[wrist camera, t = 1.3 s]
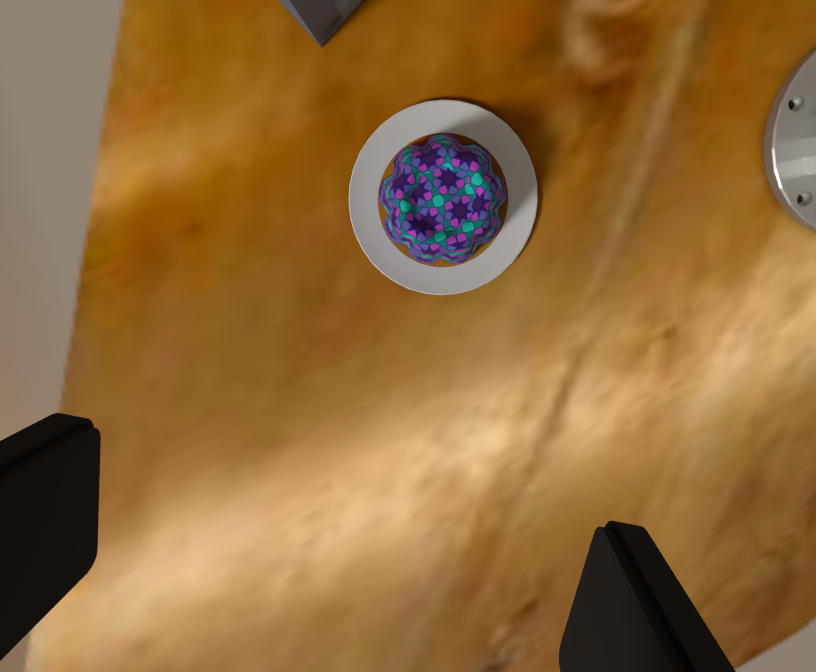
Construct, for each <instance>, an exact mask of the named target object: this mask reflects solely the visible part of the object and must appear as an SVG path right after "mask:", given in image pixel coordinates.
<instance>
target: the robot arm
mask: <svg viewBox="0 0 816 672" xmlns="http://www.w3.org/2000/svg"><path fill="white" fill-rule="evenodd" d="M788 104H790V108H789V106H788ZM764 164H765V169H766V174H767V178H768V182H769V184H770V186H771V188H772V191H773V193H774V195H775V197H776V199H777V200H778V202H779V203H780V204H781V206H782V207H783V208H784V210H785V211H786V212H787V213H788V214H789V215H790V216H791V217H792V218H793V219H795V220H796V221H797V222H798V223H799V224H800V225H802V226H804V227H806V228H808V229H810V230H812V231H813V232H815V233H816V47H815V48H813V49H812V50H811V51H810V52H809V53H808V54H807V55H806V56H805V57H803V58H802V60H801V61H800V62H799V63H798V64H797V66H796V67H795V68H794V69H793V71H792V72H791V73H790V74H789V76H788V77H787V78H786V80H785V82H784V84H783V85H782V87H781V89H780V91H779V92H778V94H777V96H776V98H775V100H774V103H773V106H772V109H771V111H770V114H769V117H768V120H767V125H766V131H765V136H764ZM797 197H798V201H797ZM100 439H101V437H100V432H99V430H98V429H97V428H94V425H93V423H92V421H91V420H90V419H87V418H82V417H77V416H72V415H67V414H61V413H55V414H52V415H50V416H48V417H46V418H44V419H42V420H40V421H38V422H36V423H34V424H32V425H30V426H29V427H27V428H25V429H23V430H21V431H19V432H17V433H15V434H13V435H11V436H9V437H7V438H5V439H3V440H1V441H0V660H2V659H3V657H5V655H7V653H9V651H10V650H11V649H12V648H13V647H14V646H15V645H16V644H17V643H18V642H19V641H20V640H21V639H22V638H23V637H24V636H25V635H26V634H27V633H28V632H29V631H30V630H31V629H32V628H33V627H34V626H35V625H36V624H37V623H38V622H39V621H40V620H41V619H42V618H43V617H44V616H45V615H46V614H47V613H48V612H49V611H50V610H51V609H52V608H53V607H54V606H55V605H56V604H57V603H58V602H59V601H60V600H61V599H62V598H63V597H64V596H65V595H66V594H67V593H68V592H69V591H70V590H71V589H72V588H73V587H74V586H75V585H76V584H77V583H78V582H79V581H80V580H81V579H82V578H83V577H84V576H85V575H86V574H87V573H88V571H89V570H90V569H91V567H92V565H93V563H94V561H95V559H96V555H97V547H98V511H99V475H100ZM559 665H560V671H561V672H735V670H734V668H733V667H732V665H731V664H730V662H729V660H728V659H727V657H726V656H725V654H724V653H723V651H722V649H721V648H720V646H719V645H718V643H717V641H716V640H715V638H714V637H713V635H712V634H711V632H710V630H709V629H708V627H707V626H706V624H705V622H704V621H703V619H702V618H701V616H700V614H699V613H698V611H697V610H696V608H695V607H694V605H693V603H692V602H691V600H690V599H689V597H688V595H687V594H686V592H685V591H684V589H683V587H682V586H681V584H680V583H679V581H678V580H677V578H676V576H675V575H674V573H673V572H672V570H671V568H670V567H669V565H668V564H667V562H666V560H665V559H664V557H663V556H662V554H661V553H660V551H659V549H658V548H657V546H656V545H655V543H654V541H653V540H652V538H651V537H650V535H649V534H648V532H647V530H646V529H645V528H644V527H641V526H637V525H632V524H626V523H621V522H616V521H609V522H608V523H607V524H606V526H605V527H597V529H596V530H595V532H594V535H593V538H592V542H591V545H590V548H589V552H588V555H587V558H586V562H585V565H584V568H583V572H582V575H581V578H580V581H579V585H578V588H577V591H576V595H575V598H574V601H573V605H572V608H571V611H570V615H569V618H568V621H567V625H566V628H565V631H564V634H563V638H562V641H561V645H560V650H559Z"/></svg>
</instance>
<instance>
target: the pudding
mask: <svg viewBox="0 0 816 672" xmlns="http://www.w3.org/2000/svg"><path fill="white" fill-rule="evenodd" d="M434 133H455V134H459V135H462V136H466V137H468V138H470V139H472V140H474V141H476V142H478V143H479V144H481V145H482V146H483V147H485V148H486V149H487V150H488V151H489V152H490V153H491V154H492V155H493V156H494V158H495V159H496V161H497V162H498V164H499V165H500V167H501V169H502V172H503V174H504V176H505V180H506V184H507V188H508V208H507V215H506V218H505V221H504V225H503V227H502V229H501V231H500V233H499V235H498V236H497V238H496V239H495V240H494V242H493V243H492V244H491V245H490V246H489V247H488V248H487V249H486V250H485V251H484V252H483V253H482V254H480V255H479V256H477V257H476V258H475V259H473V260H471V261H468V262H466V263H464V264H461V265H457V266H453V267H442V268H441V267H430V266H427V265H423V264H420V263H418V262H415V261H413V260H411V259H409V258H408V257H407V256H405V255H404V254H402V253H401V252H400V251H399V250H398V249H397V248H396V247H395V246H394V245H393V244H392V242H391V241H390V240H389V238H388V237H387V235H386V233H385V231H384V229H383V227H382V224H381V221H380V217H379V213H378V190H379V186H380V181H381V178H382V176H383V173H384V171H385V169H386V167H387V165H388V164H389V162H390V161H391V159H392V158H393V157H394V156H395V155H396V154H397V153H398V151H399V150H400V149H402V148H403V147H404V146H406V145H407V144H408V143H410V142H412V141H414V140H416V139H417V138H419V137H422V136H426V135H429V134H434ZM379 196H380V203H381V204H382V206H383V207H384V208H385V210H386V211H387V215H386V218H385V222H384V226H385V229H386V232H387V234H388V236H389V237H390V238H391V239H392V240H393V241H394V242H395V243H398V244H403V245H407V248H408V250H409V252H410V255H411V257H413V258H415V259H416V260H418V261H419V262H423V263H430V264H431V263H433V262H435V261H437V260H439V259H441V258H442V259H444V260H446V261H448V262H450V263H452V264H453V263H460V262H464V261H465V260H467V259H469V258H470V257H472V256H473V254H474V251H475V249H476V247H477V245H480V244H484V243H488V242H490V241H491V240H492V239H493V238H494V236H495V235H496V234H497V232H498V229H499V226H500V224H501V223H500V219H499V215H498V212H497V211H498V210H499V209H500V207H501V206H502V205H503V203H504V202H505V197H506V188H505V185H504V182H503V180H502V178H500V177H499V176H497V175H496V174H494V173H493V172H492V159H491V157H490V156H489V154H488V153H487V152H486V150H485V149H483V148H481V147H480V146H478V145H476V144H470V145H464V146H462V145H461V144H460V142H459V141H458V140H457V139H456V138H455V137H454V136H451V135H447V134H439V135H435V136H431V137H430V139H429V140H428V141H427V142H426V143H425V144H424V146H417V145H409V146H408V147H406V148H404V149H402V150H401V151H400V152H399V153H398V155H397V156H396V158H395V159H394V169H393V174H391V175H390V176H388V177H387V178H385V179H384V180H383V182H382V185H381V187H380V190H379ZM537 202H538V195H537V181H536V176H535V171H534V167H533V164H532V162H531V159H530V157H529V154H528V152H527V150H526V148H525V147H524V145H523V143H522V142H521V140H520V139H519V137H518V136H517V135H516V133H515V132H514V131H513V130H512V129H511V128H510V127H509V126H508V125H507V124H506V123H505V122H504V121H502V120H501V119H500V118H498V117H497V116H496V115H494V114H493V113H491V112H489V111H487V110H485V109H483V108H481V107H479V106H477V105H473V104H470V103H466V102H462V101H454V100H436V101H427V102H423V103H420V104H416V105H413V106H410V107H408V108H406V109H404V110H402V111H400V112H398V113H396V114H394V115H393V116H392V117H390V118H389V119H388V120H387V121H385V122H384V123H383V124H381V125H380V126H379V127H378V129H377V130H376V131H375V132H374V133H373V134H372V135H371V136H370V137H369V139H368V140H367V142H366V143H365V145H364V147H363V148H362V150H361V151H360V153H359V156H358V158H357V161H356V163H355V165H354V168H353V172H352V176H351V181H350V185H349V210H350V219H351V222H352V226H353V229H354V233H355V236H356V238H357V240H358V242H359V244H360V246H361V248H362V250H363V251H364V253H365V254H366V255H367V257H368V258H369V260H370V261H371V262H372V263H373V264H374V265H375V266H376V267H377V268H378V269H379V270H380V271H381V272H382V273H383V274H384V275H385V276H387V277H388V278H390V279H391V280H393V281H394V282H396V283H397V284H400V285H402V286H404V287H406V288H408V289H410V290H414V291H418V292H421V293H425V294H435V295H448V294H458V293H462V292H466V291H469V290H473V289H475V288H477V287H480V286H482V285H484V284H486V283H488V282H490V281H491V280H492V279H494V278H495V277H497V276H498V275H500V274H501V273H502V272H503V271H504V270H505V269H506V268H507V267H508V266H509V265H511V264H512V263H513V261H514V260H515V259H516V257H517V256H518V255H519V253H520V252H521V251H522V249H523V247H524V245H525V243H526V241H527V239H528V238H529V236H530V233H531V230H532V227H533V224H534V221H535V217H536V210H537Z"/></svg>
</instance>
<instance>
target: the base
mask: <svg viewBox="0 0 816 672" xmlns="http://www.w3.org/2000/svg"><path fill="white" fill-rule="evenodd" d="M278 1H279V2H280V3H281V4H282V5H283V6H284V7H285V8H286V9H287V11H288V12H289V13H290V14H291V15H292V16H293V17H294V18H295V19H296V20H297V21H298V22H299V24H300V25H301V26H302V27H303V28H304V29H305V30H306V31H307V32H308V33H309V34H310V35H311V36H312V38H313V39H314V40H315V41H316V42H317V43H318V44H319V45H320V46H321V47H322V46H323V45H324V44H325V43H326V42H327V40H328V39H329V38H330V37H331V36H332V35H333V34H334V32H335V31H336V30H337V29H338V28H339V27H340V26H341V24H342V23H343V22H344V21H345V20H346V19H347V17H348V16H349V15H350V14H351V13H352V12H353V11H354V9H355V8H356V7H357V6H358V5H359V4H360V3H361V1H362V0H278Z"/></svg>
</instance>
